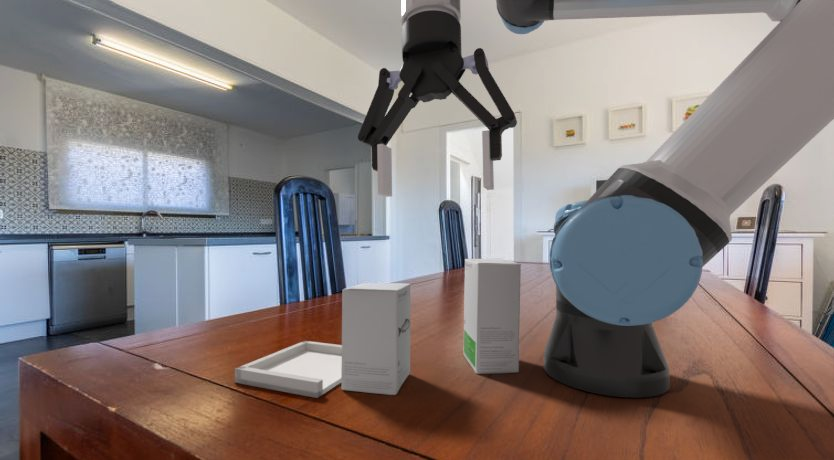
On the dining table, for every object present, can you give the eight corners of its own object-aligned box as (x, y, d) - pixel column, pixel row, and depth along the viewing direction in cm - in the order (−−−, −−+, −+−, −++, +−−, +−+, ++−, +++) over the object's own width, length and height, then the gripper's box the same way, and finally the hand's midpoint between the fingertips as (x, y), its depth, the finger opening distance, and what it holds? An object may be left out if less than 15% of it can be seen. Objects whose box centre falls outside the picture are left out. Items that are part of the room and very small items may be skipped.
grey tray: (374, 360, 55) (374, 349, 55) (317, 398, 42) (317, 382, 42) (304, 351, 60) (304, 340, 60) (234, 382, 47) (234, 368, 47)
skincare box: (462, 356, 58) (462, 258, 58) (503, 354, 58) (502, 258, 59) (476, 375, 49) (475, 261, 50) (523, 373, 50) (522, 261, 50)
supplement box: (397, 396, 43) (397, 289, 43) (339, 391, 44) (339, 288, 45) (412, 374, 50) (411, 282, 50) (361, 370, 52) (362, 281, 52)
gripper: (535, 19, 45) (540, 189, 44) (360, 59, 54) (361, 200, 53) (532, -22, 38) (537, 179, 37) (330, 32, 47) (332, 194, 46)
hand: (434, 192), depth 45 cm, fingers open, 13 cm apart
